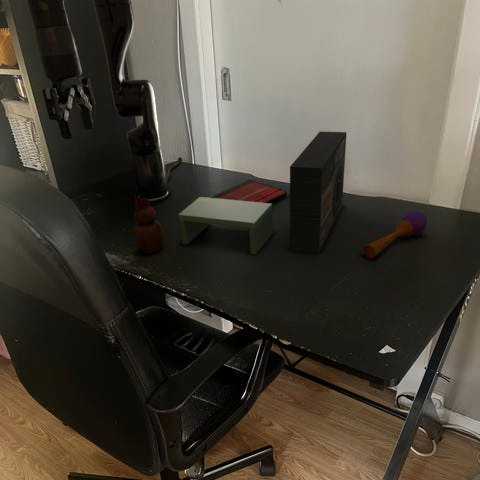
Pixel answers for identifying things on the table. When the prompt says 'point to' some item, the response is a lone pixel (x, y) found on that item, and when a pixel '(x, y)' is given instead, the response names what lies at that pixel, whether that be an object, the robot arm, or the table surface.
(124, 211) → the table surface
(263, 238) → the desk shelf
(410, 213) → the orange and purple maraca
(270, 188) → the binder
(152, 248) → the wooden figurine
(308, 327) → the table surface
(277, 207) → the table surface
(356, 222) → the table surface
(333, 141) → the cassette player
